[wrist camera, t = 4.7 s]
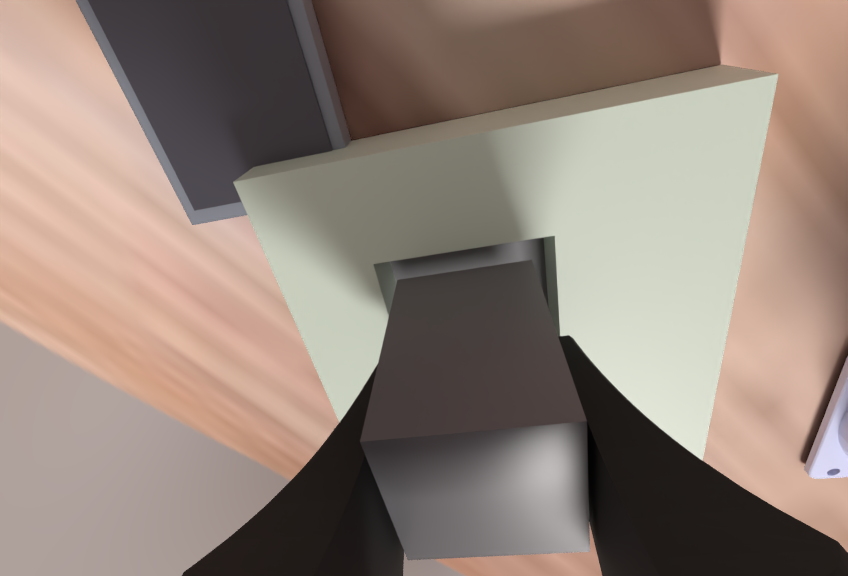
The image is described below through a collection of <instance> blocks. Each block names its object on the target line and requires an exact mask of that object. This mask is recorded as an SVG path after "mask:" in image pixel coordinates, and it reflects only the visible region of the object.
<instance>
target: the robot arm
mask: <svg viewBox="0 0 848 576" xmlns="http://www.w3.org/2000/svg"><path fill="white" fill-rule="evenodd" d="M558 338H559V341H560V343H561V346H562V349H563V352H564V355H565V358H566V361H567V364H568V367H569V370H570V373H571V376H572V379H573V382H574V385H575V387H576V390H577V393H578V396H579V399H580V402H581V405H582V408H583V411H584V414H585V417H586V420H587V446H588V491H589V522H590V526H591V530H592V534H593V538H594V542H595V546H596V550H597V555H598V559H599V563H600V567H601V571H602V576H848V553H847V552H846V550H845V549H844V548H843V547H842V546H841V545H840V543H839V542H837V541H836V540H834V539H832V538H830V537H828V536H826V535H825V534H823V533H821V532H819V531H817V530H815V529H814V528H812V527H810V526H808V525H806V524H804V523H803V522H801V521H799V520H797V519H795V518H793V517H792V516H790V515H788V514H786V513H784V512H782V511H781V510H779V509H777V508H775V507H774V506H772V505H770V504H768V503H767V502H765V501H763V500H762V499H760V498H759V497H757V496H755V495H754V494H752V493H750V492H749V491H747V490H745V489H744V488H742V487H741V486H739V485H738V484H736V483H735V482H733V481H732V480H730V479H729V478H727V477H726V476H724V475H723V474H721V473H720V472H718V471H717V470H715V469H714V468H713V467H711V466H710V465H708V464H707V463H705V462H704V461H702V460H701V459H699V458H698V457H696V456H695V455H694V454H692V453H691V452H690V451H688V450H687V449H686V448H684V447H683V446H682V445H681V444H679V443H678V442H677V441H675V440H674V439H673V438H672V437H670V436H669V435H668V434H667V433H665V432H664V431H663V430H662V429H660V428H659V427H658V426H657V425H656V424H654V423H653V422H652V421H651V420H650V419H649V418H647V417H646V416H645V415H644V414H643V413H642V412H641V411H640V410H639V409H637V408H636V407H635V406H634V405H633V404H632V403H631V402H630V401H629V400H628V399H627V398H626V397H625V396H624V395H623V394H622V393H621V392H620V391H619V390H618V389H617V388H616V387H615V386H614V385H613V384H612V383H611V382H610V381H609V380H608V379H607V378H606V377H605V376H604V375H603V374H602V373H601V371H600V370H599V369H598V368H597V367H596V366H595V365H594V364H593V362H592V361H591V360H590V359H589V358H588V357H587V355H586V354H585V353H584V352H583V350H582V349H581V348H580V347H579V345H578V344H577V343H576V341H575V340H574V339H573V338H572V337H571V336H569V335H566V336H558ZM377 366H378V364H377ZM377 366H376V367H375V369H374V371H373V372H372V374H371V375H370V377H369V379H368V380H367V382H366V384H365V385H364V387H363V388H362V390H361V392H360V393H359V395H358V396H357V398H356V399H355V401H354V402H353V404H352V405H351V407H350V408H349V410H348V411H347V413H346V414H345V416H344V417H343V418H342V420H341V421H340V422H339V424H338V425H337V426H336V428H335V429H334V431H333V432H332V433H331V435H330V436H329V437H328V439H327V440H326V441H325V442H324V444H323V445H322V446H321V447H320V449H319V450H318V451H317V452H316V454H315V455H314V456H313V457H312V458H311V459H310V461H309V462H308V463H307V464H306V465H305V466H304V467H303V469H302V470H301V471H300V472H299V473H298V474H297V475H296V476H295V477H294V478H293V479H292V480H291V481H290V482H289V483H288V484H287V485H286V486H285V487H284V488H283V489H282V490H281V491H280V492H279V493H278V494H277V495H276V496H275V497H274V498H273V499H272V500H271V501H270V502H269V503H268V504H267V505H266V506H265V507H264V508H263V509H262V510H260V511H259V512H258V513H257V514H256V515H255V516H254V517H253V518H252V519H250V520H249V521H248V522H247V523H246V524H245V525H243V526H242V527H241V528H240V529H239V530H238V531H236V532H235V533H234V534H233V535H232V536H231V537H229V538H228V539H227V540H225V541H224V542H223V543H222V544H220V545H219V546H218V547H216V548H215V549H214V550H213V551H211V552H210V553H209V554H207V555H206V556H205V557H203V558H202V559H201V560H200V561H198V562H197V563H196V564H194V565H193V566H192V567H190V568H189V569H188V570H186V571H185V572H184V573H183V575H182V576H403V560H404V549H403V547H402V544H401V542H400V539H399V537H398V535H397V532H396V530H395V527H394V525H393V522H392V520H391V517H390V515H389V512H388V510H387V507H386V505H385V502H384V500H383V498H382V495H381V493H380V490H379V488H378V485H377V483H376V480H375V478H374V475H373V473H372V470H371V468H370V465H369V463H368V461H367V458H366V456H365V453H364V451H363V448H362V446H361V443H360V439H361V435H362V431H363V426H364V422H365V418H366V413H367V409H368V405H369V400H370V396H371V392H372V388H373V383H374V379H375V375H376V370H377ZM804 470H805V471H806V472H807V474H808V475H809V476H810V477H811V478H814V479H824V478H839V477H848V356H847V359H846V361H845V364H844V366H843V369H842V372H841V374H840V377H839V379H838V382H837V384H836V387H835V390H834V392H833V395H832V397H831V400H830V402H829V405H828V408H827V410H826V413H825V415H824V418H823V420H822V423H821V426H820V428H819V431H818V433H817V436H816V438H815V441H814V444H813V446H812V449H811V451H810V454H809V456H808V459H807V462H806V464H805V467H804Z"/></svg>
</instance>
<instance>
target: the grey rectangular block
mask: <svg viewBox="0 0 848 576" xmlns="http://www.w3.org/2000/svg"><path fill="white" fill-rule="evenodd" d="M360 443H361V446H362V448H363V451H364V453H365V456H366V458H367V461H368V463H369V465H370V468H371V470H372V473H373V475H374V478H375V480H376V483H377V485H378V488H379V490H380V493H381V495H382V498H383V500H384V502H385V505H386V507H387V510H388V512H389V515H390V517H391V520H392V522H393V525H394V527H395V530H396V532H397V535H398V537H399V539H400V542H401V544H402V547H403V549H404V552H405V554H406V557H407V559H408V560H421V559H443V558H464V557H486V556H507V555H529V554H550V553H572V552H590V537H589V491H588V446H587V420H586V417H585V414H584V411H583V408H582V405H581V402H580V399H579V396H578V393H577V390H576V387H575V385H574V382H573V379H572V376H571V373H570V370H569V367H568V364H567V361H566V358H565V355H564V352H563V349H562V346H561V343H560V341H559V338H558V335H557V332H556V329H555V326H554V323H553V320H552V317H551V314H550V311H549V308H548V305H547V302H546V299H545V296H544V294H543V291H542V288H541V285H540V282H539V279H538V276H537V273H536V270H535V267H534V264H533V261H532V260H526V261H519V262H513V263H506V264H499V265H493V266H486V267H479V268H473V269H466V270H459V271H453V272H446V273H439V274H433V275H426V276H419V277H413V278H406V279H399V280H397V284H396V288H395V292H394V297H393V301H392V305H391V310H390V314H389V318H388V323H387V327H386V331H385V336H384V340H383V344H382V349H381V353H380V357H379V362H378V366H377V370H376V375H375V379H374V383H373V388H372V392H371V396H370V400H369V405H368V409H367V413H366V418H365V422H364V426H363V431H362V435H361V439H360Z"/></svg>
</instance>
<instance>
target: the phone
mask: <svg viewBox="0 0 848 576" xmlns="http://www.w3.org/2000/svg"><path fill="white" fill-rule="evenodd" d="M76 2H77V4H78V6H79V8H80V10H81V12H82V14H83V15H84V17H85V19H86V21H87V23H88V25H89V27H90V29H91V31H92V33H93V35H94V37H95V39H96V41H97V42H98V44H99V46H100V48H101V50H102V52H103V54H104V56H105V58H106V60H107V62H108V64H109V66H110V67H111V69H112V71H113V73H114V75H115V77H116V79H117V81H118V83H119V85H120V87H121V89H122V91H123V92H124V94H125V96H126V98H127V100H128V102H129V104H130V106H131V108H132V110H133V112H134V114H135V116H136V118H137V119H138V121H139V123H140V125H141V127H142V129H143V131H144V133H145V135H146V137H147V139H148V141H149V143H150V144H151V146H152V148H153V150H154V152H155V154H156V156H157V158H158V160H159V162H160V164H161V166H162V168H163V169H164V171H165V173H166V175H167V177H168V179H169V181H170V183H171V185H172V187H173V189H174V191H175V193H176V194H177V196H178V198H179V200H180V202H181V204H182V206H183V208H184V210H185V212H186V214H187V216H188V218H189V220H190V221H191V223H192V225H196V224H201V223H207V222H212V221H218V220H223V219H228V218H234V217H239V216H245V215H247V213H246V210H245V208H244V206H243V203H242V201H241V199H240V197H239V194H238V192H237V190H236V188H235V185H234V183H233V182H234V181H235V180H237V179H238V178H239V177H241V176H242V175H243V174H245V173H246V172H247V171H249V170H250V169H252V168H253V167H256V166H261V165H266V164H271V163H275V162H280V161H285V160H290V159H295V158H300V157H305V156H310V155H315V154H320V153H325V152H330V151H333V150H336V149H341V148H346V146H347V145H348V144H349V143H350V142H351V138H350V134H349V130H348V127H347V123H346V120H345V116H344V113H343V109H342V106H341V102H340V99H339V95H338V92H337V88H336V85H335V81H334V78H333V74H332V71H331V67H330V64H329V60H328V57H327V53H326V50H325V46H324V42H323V39H322V35H321V32H320V28H319V25H318V21H317V18H316V14H315V11H314V7H313V4H312V0H76Z"/></svg>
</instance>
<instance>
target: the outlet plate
mask: <svg viewBox="0 0 848 576" xmlns="http://www.w3.org/2000/svg"><path fill="white" fill-rule="evenodd" d="M777 79H778V74H776V73H770V72H764V71H758V70H752V69H745V68H739V67H733V66H727V65H718V66H713V67H708V68H703V69H698V70H693V71H688V72H684V73H679V74H674V75H669V76H664V77H659V78H654V79H649V80H645V81H640V82H635V83H630V84H625V85H620V86H615V87H610V88H606V89H601V90H596V91H591V92H586V93H581V94H576V95H571V96H567V97H562V98H557V99H552V100H547V101H542V102H537V103H532V104H528V105H523V106H518V107H513V108H508V109H503V110H498V111H493V112H489V113H484V114H479V115H474V116H469V117H464V118H459V119H455V120H450V121H445V122H440V123H435V124H430V125H425V126H420V127H416V128H411V129H406V130H401V131H396V132H391V133H386V134H381V135H377V136H372V137H367V138H362V139H357V140H352V141H351V142H350V143H349V144H348V145H347V146H346V148H341V149H336V150H333V151H330V152H325V153H320V154H315V155H310V156H305V157H300V158H295V159H290V160H285V161H280V162H275V163H271V164H266V165H261V166H256V167H253V168H252V169H250V170H249V171H247V172H246V173H245V174H243V175H242V176H241V177H239V178H238V179H237V180H235V181H234V182H233V183H234V185H235V188H236V190H237V192H238V194H239V197H240V199H241V201H242V203H243V206H244V208H245V210H246V213H247V215H248V217H249V219H250V222H251V224H252V226H253V228H254V231H255V233H256V235H257V237H258V240H259V242H260V244H261V246H262V249H263V251H264V253H265V255H266V258H267V260H268V262H269V264H270V267H271V269H272V271H273V274H274V276H275V278H276V280H277V283H278V285H279V287H280V289H281V292H282V294H283V296H284V298H285V301H286V303H287V305H288V307H289V310H290V312H291V314H292V316H293V319H294V321H295V323H296V325H297V328H298V330H299V332H300V334H301V337H302V339H303V341H304V344H305V346H306V348H307V350H308V353H309V355H310V357H311V359H312V362H313V364H314V366H315V368H316V371H317V373H318V375H319V377H320V380H321V382H322V384H323V386H324V389H325V391H326V393H327V395H328V398H329V400H330V402H331V405H332V407H333V409H334V411H335V414H336V416H337V418H338V420H339V422H340V421H341V420H342V418H343V417H344V416H345V414H346V413H347V411H348V410H349V408H350V407H351V405H352V404H353V402H354V401H355V399H356V398H357V396H358V395H359V393H360V392H361V390H362V388H363V387H364V385H365V384H366V382H367V380H368V379H369V377H370V375H371V374H372V372H373V371H374V369H375V367H376V366H377V364H378V362H379V357H380V353H381V349H382V344H383V340H384V336H385V331H386V327H387V323H388V318H389V314H390V310H391V305H392V301H393V297H394V292H395V288H396V284H397V280H399V279H406V278H413V277H419V276H426V275H433V274H439V273H446V272H453V271H459V270H466V269H473V268H479V267H486V266H493V265H499V264H506V263H513V262H519V261H526V260H532V261H533V264H534V267H535V270H536V273H537V276H538V279H539V282H540V285H541V288H542V291H543V294H544V296H545V299H546V302H547V305H548V308H549V311H550V314H551V317H552V320H553V323H554V326H555V329H556V332H557V335H558V336H566V335H569V336H571V337H572V338H573V339H574V340H575V341H576V343H577V344H578V345H579V347H580V348H581V349H582V350H583V352H584V353H585V354H586V355H587V357H588V358H589V359H590V360H591V361H592V362H593V364H594V365H595V366H596V367H597V368H598V369H599V370H600V371H601V373H602V374H603V375H604V376H605V377H606V378H607V379H608V380H609V381H610V382H611V383H612V384H613V385H614V386H615V387H616V388H617V389H618V390H619V391H620V392H621V393H622V394H623V395H624V396H625V397H626V398H627V399H628V400H629V401H630V402H631V403H632V404H633V405H634V406H635V407H636V408H637V409H639V410H640V411H641V412H642V413H643V414H644V415H645V416H646V417H647V418H649V419H650V420H651V421H652V422H653V423H654V424H656V425H657V426H658V427H659V428H660V429H662V430H663V431H664V432H665V433H667V434H668V435H669V436H670V437H672V438H673V439H674V440H675V441H677V442H678V443H679V444H681V445H682V446H683V447H684V448H686V449H687V450H688V451H690V452H691V453H692V454H694V455H695V456H696V457H698V458H699V459H701V460H702V461H703V455H704V450H705V445H706V440H707V435H708V430H709V425H710V420H711V415H712V410H713V405H714V400H715V394H716V389H717V384H718V379H719V374H720V369H721V364H722V359H723V354H724V349H725V344H726V338H727V333H728V328H729V323H730V318H731V313H732V308H733V303H734V298H735V293H736V288H737V282H738V277H739V272H740V267H741V262H742V257H743V252H744V247H745V242H746V237H747V232H748V227H749V221H750V216H751V211H752V206H753V201H754V196H755V191H756V186H757V181H758V176H759V171H760V165H761V160H762V155H763V150H764V145H765V140H766V135H767V130H768V125H769V120H770V115H771V109H772V104H773V99H774V94H775V89H776V84H777Z"/></svg>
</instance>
